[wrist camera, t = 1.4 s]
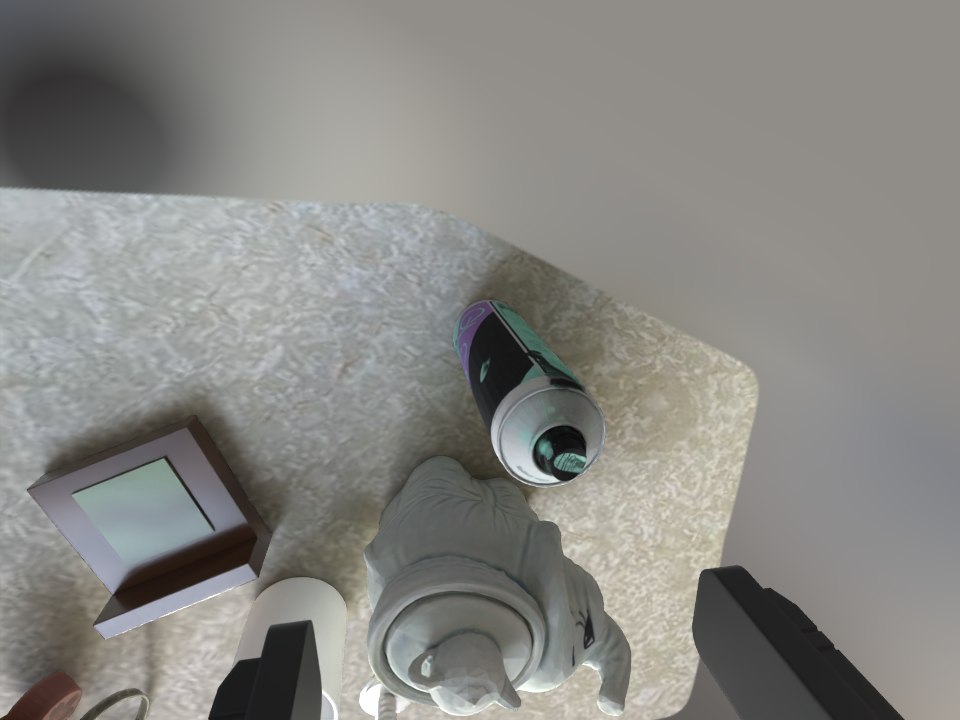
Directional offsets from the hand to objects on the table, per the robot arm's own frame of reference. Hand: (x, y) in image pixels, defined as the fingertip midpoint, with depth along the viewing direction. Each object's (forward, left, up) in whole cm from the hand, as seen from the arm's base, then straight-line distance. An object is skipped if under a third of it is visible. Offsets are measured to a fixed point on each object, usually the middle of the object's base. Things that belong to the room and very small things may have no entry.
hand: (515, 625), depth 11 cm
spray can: (+5, +3, -31) cm, 32 cm away
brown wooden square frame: (+8, -25, -31) cm, 41 cm away
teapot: (+20, -3, -31) cm, 37 cm away
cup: (+24, -21, -31) cm, 45 cm away
